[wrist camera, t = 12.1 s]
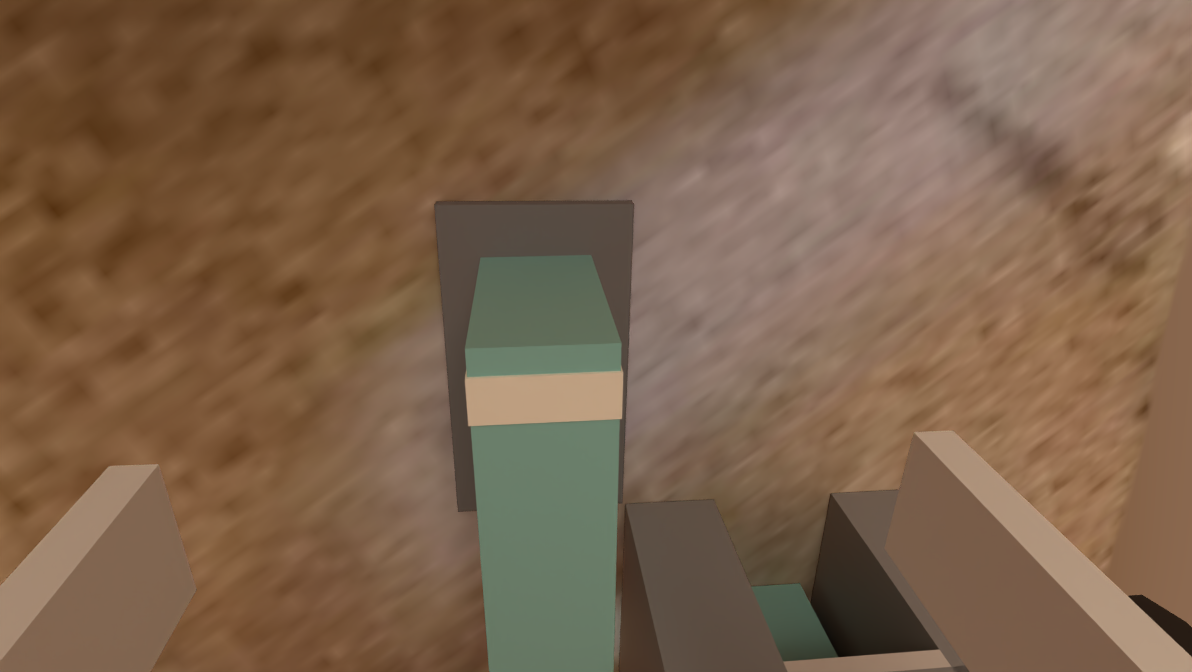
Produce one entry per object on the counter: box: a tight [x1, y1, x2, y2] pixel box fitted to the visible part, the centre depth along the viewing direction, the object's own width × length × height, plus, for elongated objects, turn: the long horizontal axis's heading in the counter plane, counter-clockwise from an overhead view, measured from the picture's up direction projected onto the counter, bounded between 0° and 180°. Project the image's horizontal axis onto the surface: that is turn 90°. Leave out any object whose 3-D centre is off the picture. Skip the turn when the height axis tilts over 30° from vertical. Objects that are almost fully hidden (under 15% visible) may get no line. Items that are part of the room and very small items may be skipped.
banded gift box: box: [465, 255, 623, 672], centre depth 23 cm, size 12×4×8 cm, turn 0°
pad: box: [434, 200, 634, 512], centre depth 27 cm, size 13×7×1 cm, turn 179°
